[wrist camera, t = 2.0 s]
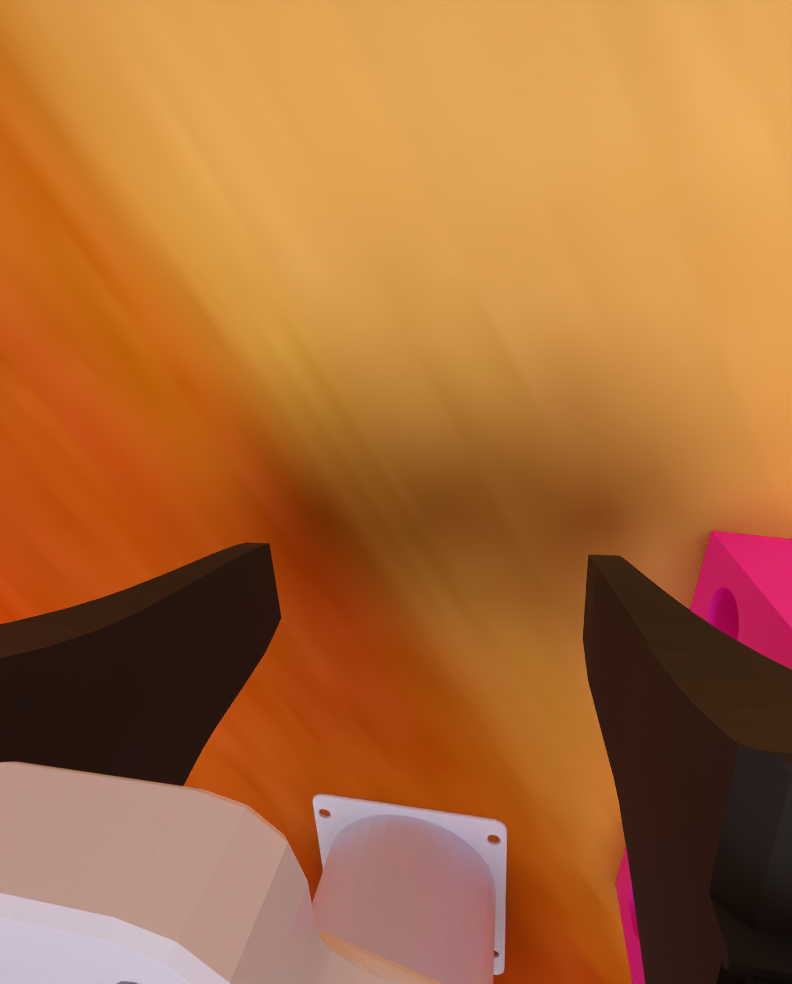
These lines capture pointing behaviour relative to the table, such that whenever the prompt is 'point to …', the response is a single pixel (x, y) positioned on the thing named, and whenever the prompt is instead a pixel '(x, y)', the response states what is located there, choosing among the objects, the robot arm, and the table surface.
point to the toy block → (743, 616)
